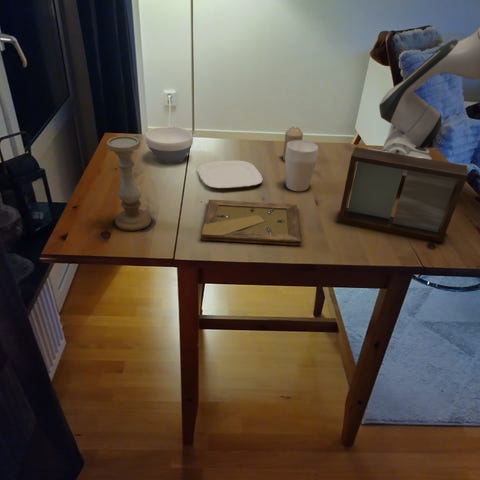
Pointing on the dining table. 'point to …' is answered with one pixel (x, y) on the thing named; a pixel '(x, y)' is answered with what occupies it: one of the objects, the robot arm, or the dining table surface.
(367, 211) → the door
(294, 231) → the picture frame
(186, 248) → the dining table surface
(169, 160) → the bowl
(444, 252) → the dining table surface
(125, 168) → the candle holder
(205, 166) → the plate
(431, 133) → the robot arm
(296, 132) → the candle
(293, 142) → the cup
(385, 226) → the frame
